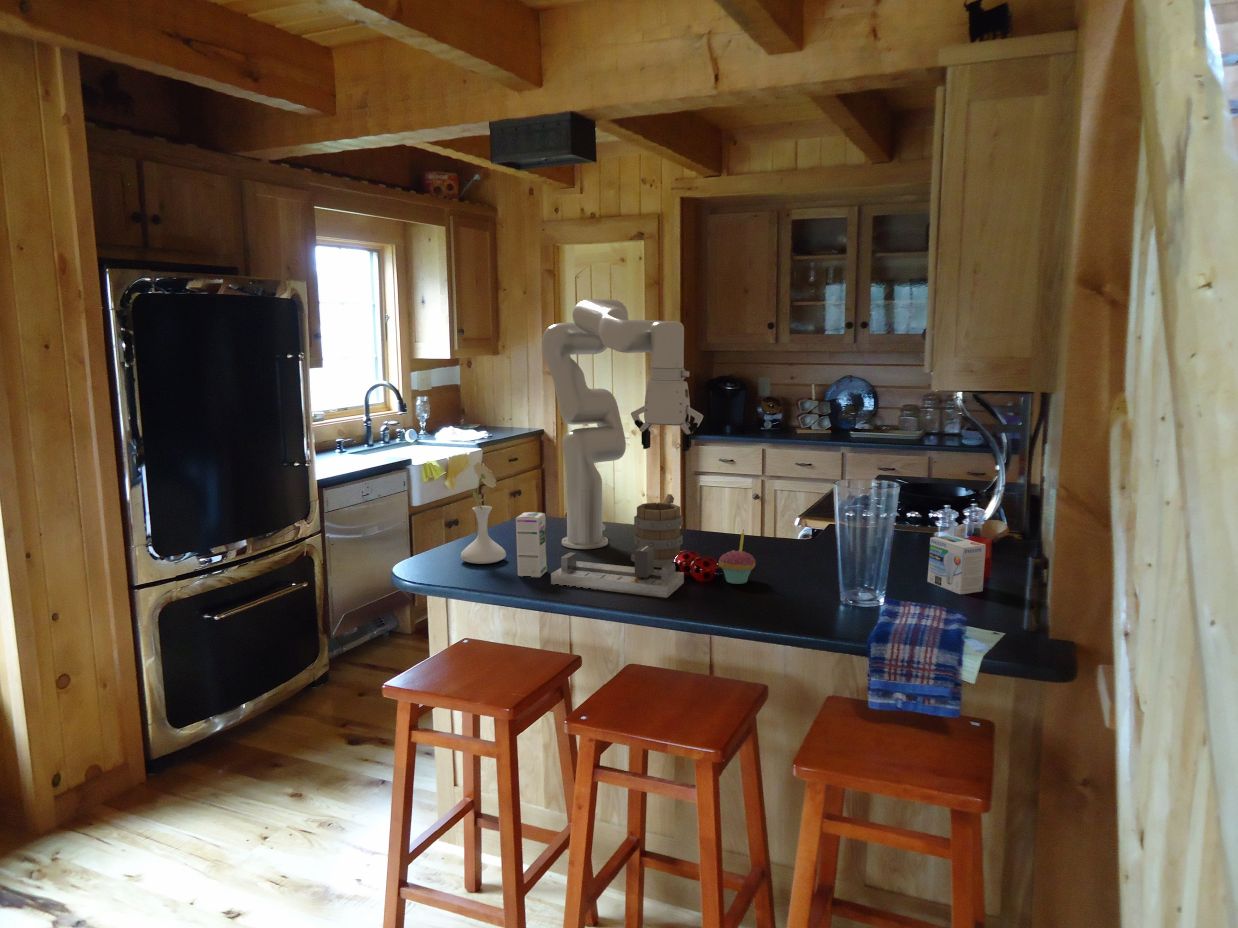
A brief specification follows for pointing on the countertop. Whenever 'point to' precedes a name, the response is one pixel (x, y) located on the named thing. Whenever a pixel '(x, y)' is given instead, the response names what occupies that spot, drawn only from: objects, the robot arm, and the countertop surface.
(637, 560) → the fader
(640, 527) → the tankard
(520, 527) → the syrup box
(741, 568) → the cupcake
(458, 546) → the countertop surface
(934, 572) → the light bulb box
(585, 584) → the board
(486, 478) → the flower in vase
